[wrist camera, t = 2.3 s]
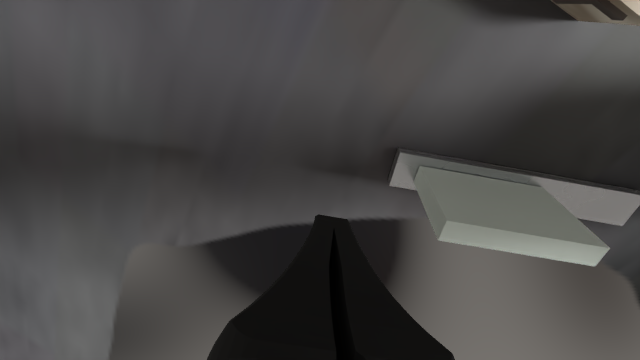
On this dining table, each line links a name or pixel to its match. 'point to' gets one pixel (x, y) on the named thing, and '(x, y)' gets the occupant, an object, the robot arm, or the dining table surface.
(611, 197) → the rail
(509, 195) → the grey flat block
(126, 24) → the dining table surface
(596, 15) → the letter block
